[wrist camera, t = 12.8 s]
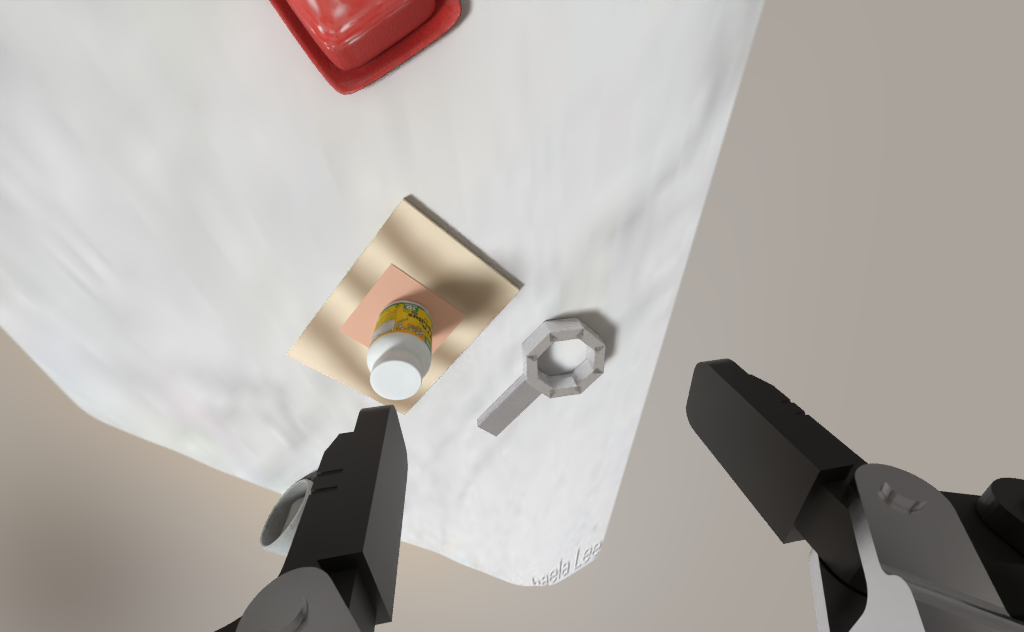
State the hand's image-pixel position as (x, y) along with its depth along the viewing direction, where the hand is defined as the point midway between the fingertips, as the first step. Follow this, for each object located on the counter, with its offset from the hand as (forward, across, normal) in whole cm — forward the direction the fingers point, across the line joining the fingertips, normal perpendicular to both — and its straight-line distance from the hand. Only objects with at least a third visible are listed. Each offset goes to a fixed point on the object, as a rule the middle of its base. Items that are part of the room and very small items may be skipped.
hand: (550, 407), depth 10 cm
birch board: (+28, +8, +11) cm, 31 cm away
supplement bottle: (+27, +8, +11) cm, 31 cm away
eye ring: (+28, -5, +21) cm, 36 cm away
